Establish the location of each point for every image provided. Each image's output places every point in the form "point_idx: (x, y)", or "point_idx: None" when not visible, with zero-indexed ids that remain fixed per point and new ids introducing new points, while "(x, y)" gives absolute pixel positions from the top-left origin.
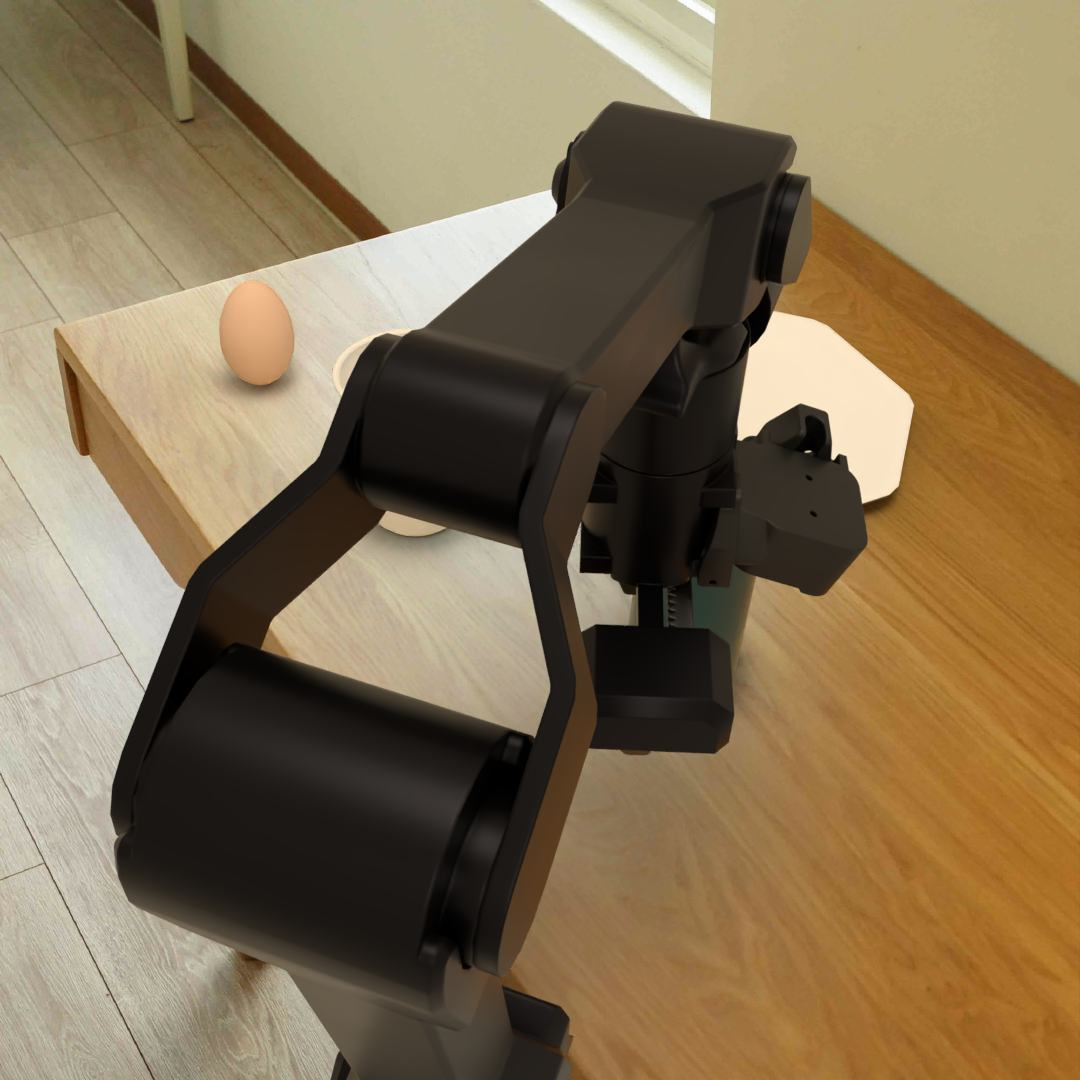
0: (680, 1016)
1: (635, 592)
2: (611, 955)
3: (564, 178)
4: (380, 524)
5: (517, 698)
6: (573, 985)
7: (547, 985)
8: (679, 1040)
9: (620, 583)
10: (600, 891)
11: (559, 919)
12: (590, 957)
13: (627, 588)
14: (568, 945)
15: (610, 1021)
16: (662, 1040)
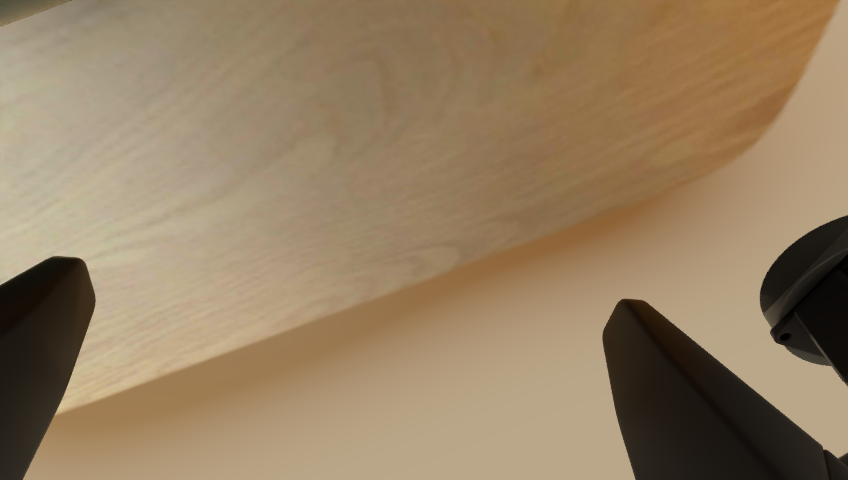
0: (742, 28)
1: (86, 289)
2: (619, 106)
3: None
4: None
5: (186, 165)
6: (646, 158)
7: (636, 186)
8: (775, 37)
9: (78, 351)
10: (519, 104)
11: (550, 161)
12: (614, 132)
13: (84, 320)
14: (590, 155)
15: (710, 122)
16: (764, 61)
